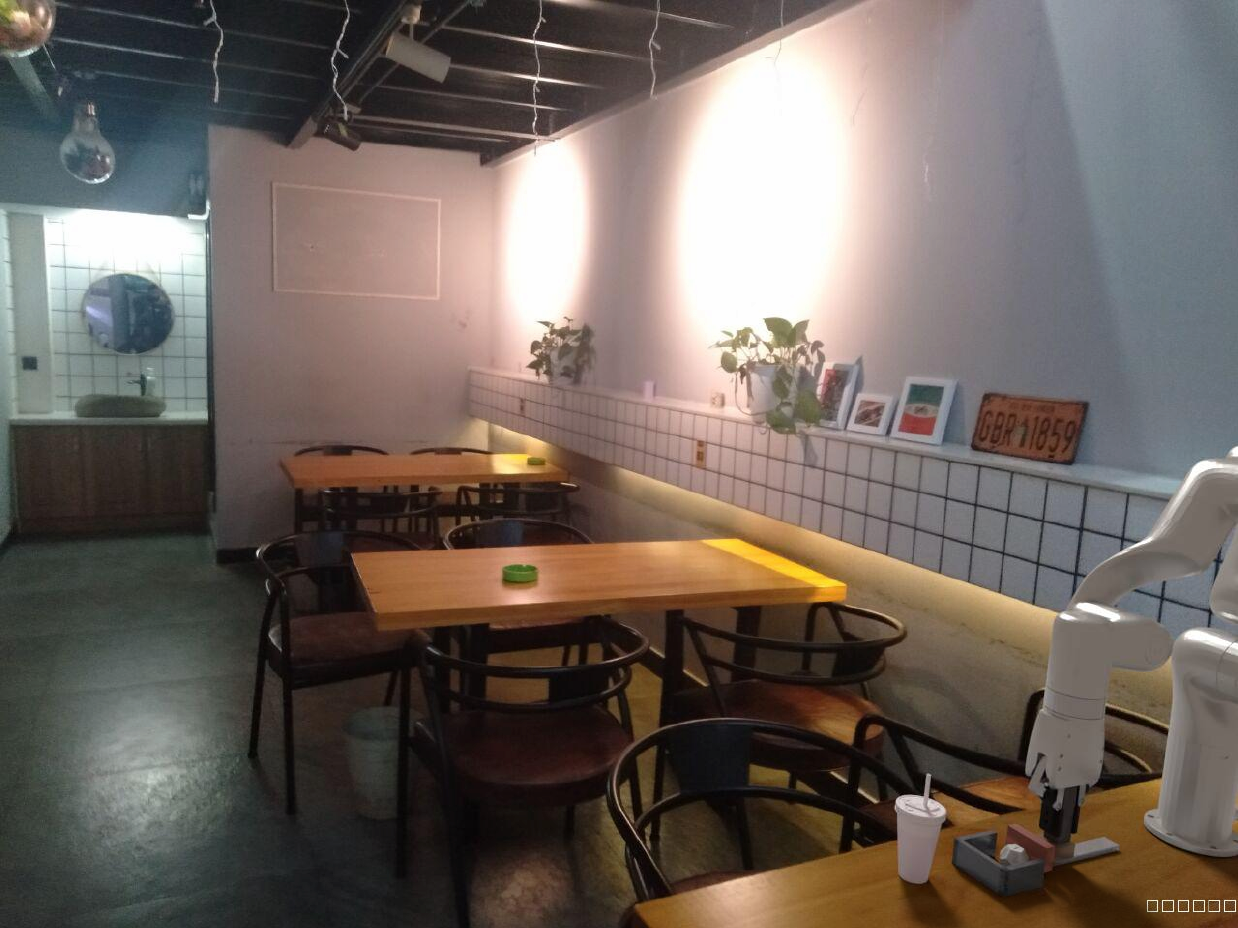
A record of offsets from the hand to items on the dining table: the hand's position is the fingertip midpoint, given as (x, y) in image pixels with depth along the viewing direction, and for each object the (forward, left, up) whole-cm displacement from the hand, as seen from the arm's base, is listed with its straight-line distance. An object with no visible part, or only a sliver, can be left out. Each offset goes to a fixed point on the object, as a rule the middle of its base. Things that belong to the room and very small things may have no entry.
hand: (1057, 829), depth 127 cm
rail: (-5, 0, -4) cm, 7 cm away
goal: (+11, 0, -4) cm, 12 cm away
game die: (+8, 0, -5) cm, 9 cm away
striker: (+2, 0, -3) cm, 4 cm away
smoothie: (+22, -3, -5) cm, 23 cm away
